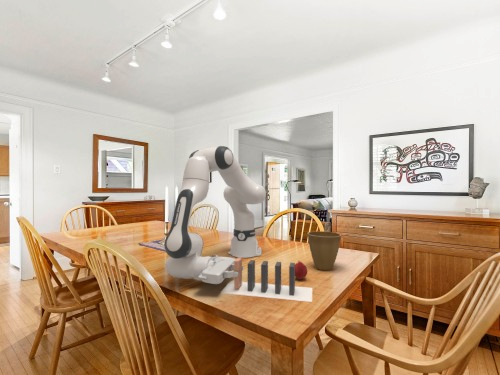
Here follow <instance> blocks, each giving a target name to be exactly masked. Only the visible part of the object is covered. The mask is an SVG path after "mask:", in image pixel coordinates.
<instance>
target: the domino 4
mask: <svg viewBox="0 0 500 375" xmlns="http://www.w3.org/2000/svg"><path fill="white" fill-rule="evenodd" d="M295 264H296V263H295V262H289V267H288V279H289V280H288V283H289V284H288V286H289V295H292V296H294V292H295V286H296V277H295Z"/></svg>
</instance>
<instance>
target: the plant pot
mask: <svg viewBox="0 0 500 375" xmlns="http://www.w3.org/2000/svg"><path fill="white" fill-rule="evenodd" d="M341 237H342V234H340V233H338V232H333V231H323V230H321V231H320V230H319V231H318V230H317V231H310V232H309V231H308V232H307V239H308V245H309V249H310V254H311V257H312V262H313V264H314V267H315V269H316V270H319V271H331V270H332V269H333V268H334V266H335V263H336V260H337V256H338V253H339V248H340V245H341V244H340V243H341V240H342V238H341Z"/></svg>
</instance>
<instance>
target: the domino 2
mask: <svg viewBox="0 0 500 375" xmlns="http://www.w3.org/2000/svg"><path fill="white" fill-rule="evenodd" d="M260 271H261V272H260V283H261V293H266V291H267V289H268V284H269V261H268V260H263V261H262V263H261V264H260Z"/></svg>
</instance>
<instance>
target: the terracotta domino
mask: <svg viewBox="0 0 500 375" xmlns="http://www.w3.org/2000/svg"><path fill="white" fill-rule="evenodd" d="M235 259H236V260H235V261H234V270H233V271H238V272H239V275H238V277H233V278H234V279H233V281H234V288H238V289H239V287H240V286H241V285H242V282H243V271H242V266H243V258H241V257H236V258H235Z"/></svg>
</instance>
